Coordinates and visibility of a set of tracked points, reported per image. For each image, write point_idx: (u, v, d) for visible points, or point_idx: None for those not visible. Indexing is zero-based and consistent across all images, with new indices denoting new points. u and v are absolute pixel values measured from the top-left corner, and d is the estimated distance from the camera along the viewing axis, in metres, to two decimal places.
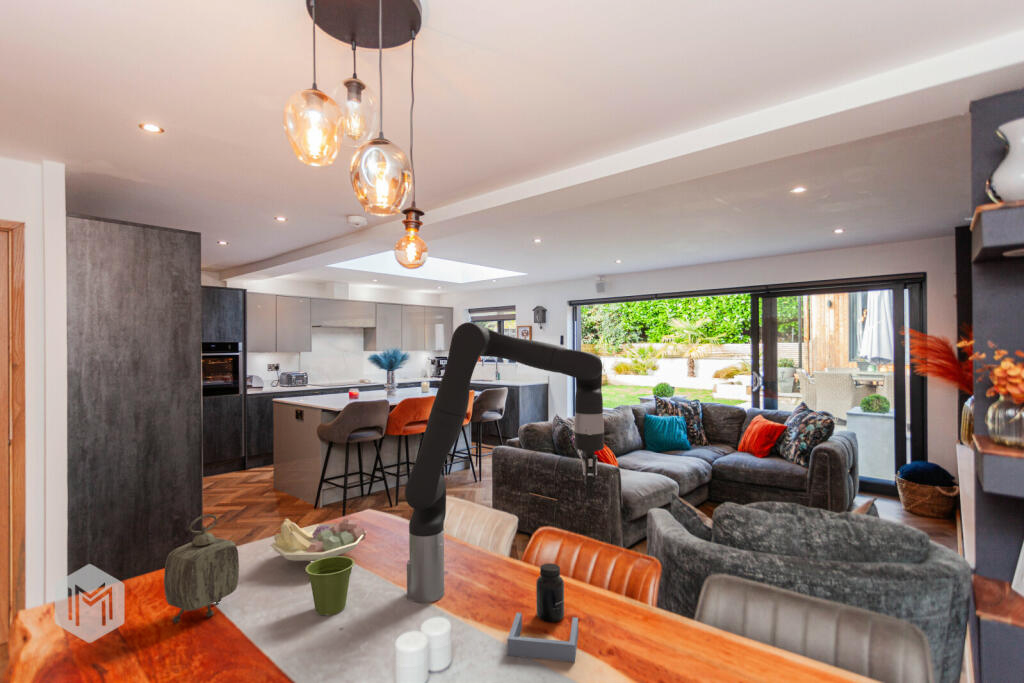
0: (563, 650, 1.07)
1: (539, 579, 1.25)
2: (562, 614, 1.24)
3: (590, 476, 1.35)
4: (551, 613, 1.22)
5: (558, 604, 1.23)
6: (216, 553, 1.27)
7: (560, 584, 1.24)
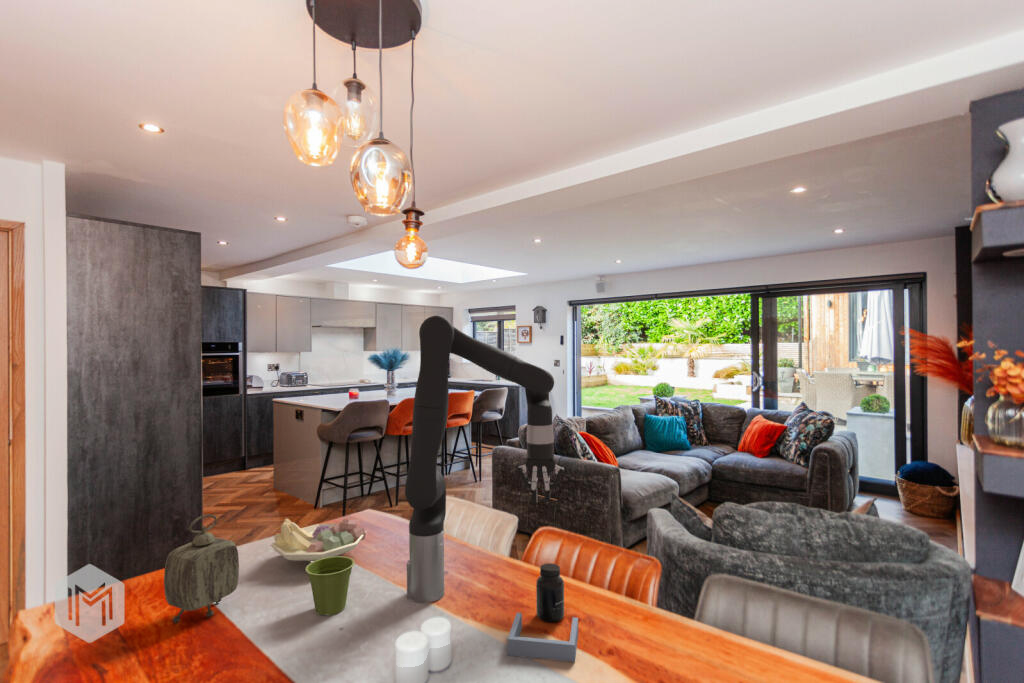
0: (563, 650, 1.07)
1: (539, 579, 1.25)
2: (562, 614, 1.24)
3: None
4: (551, 613, 1.22)
5: (558, 604, 1.23)
6: (216, 553, 1.27)
7: (560, 584, 1.24)
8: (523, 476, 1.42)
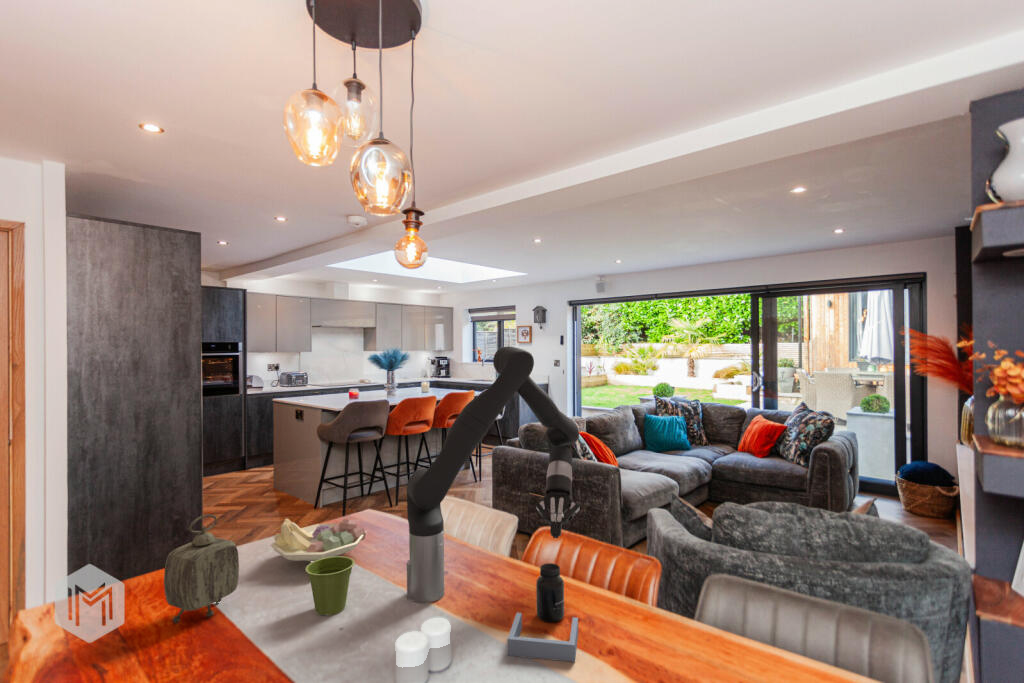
0: (563, 650, 1.07)
1: (539, 579, 1.25)
2: (562, 614, 1.24)
3: None
4: (551, 613, 1.22)
5: (558, 604, 1.23)
6: (216, 553, 1.27)
7: (560, 584, 1.24)
8: (542, 509, 1.44)
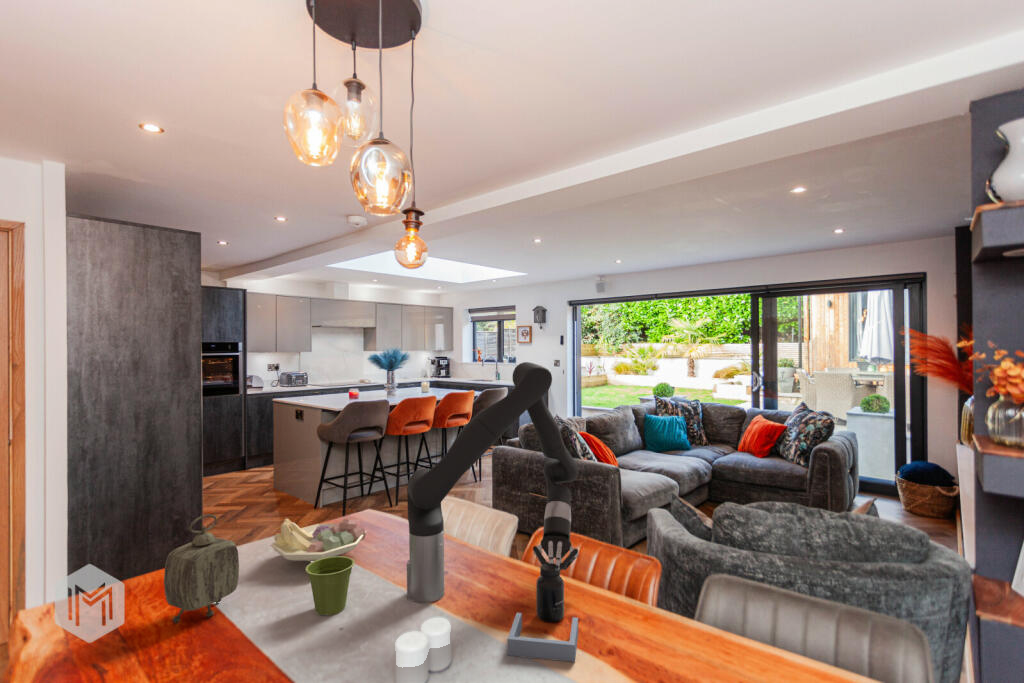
0: (563, 650, 1.07)
1: (539, 579, 1.25)
2: (562, 614, 1.24)
3: None
4: (551, 613, 1.22)
5: (558, 604, 1.23)
6: (216, 553, 1.27)
7: (560, 584, 1.24)
8: (540, 554, 1.38)
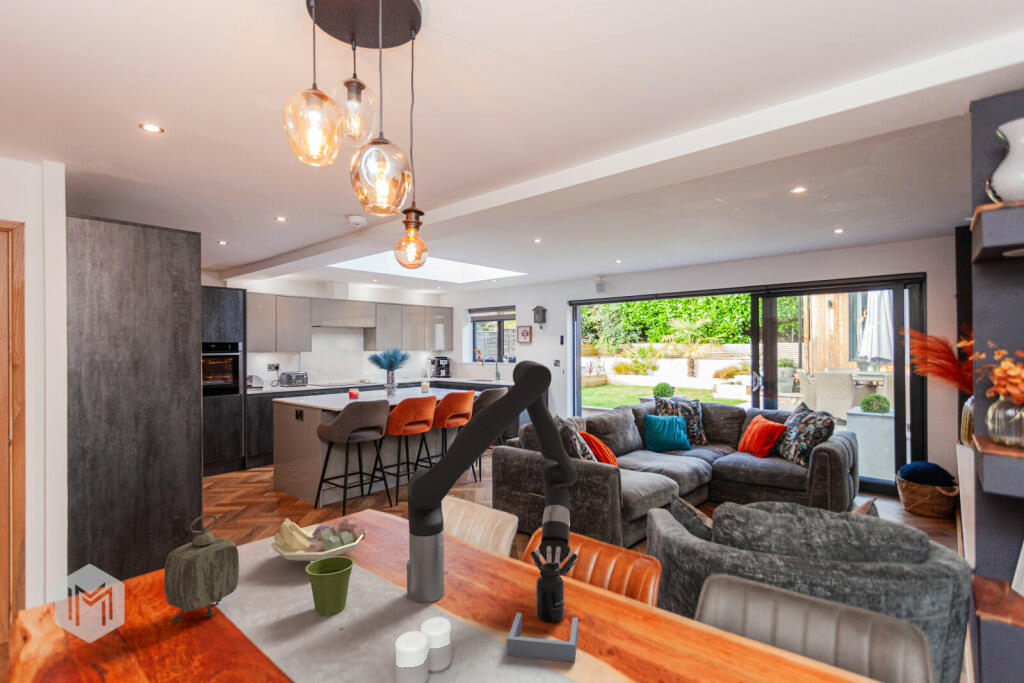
0: (563, 650, 1.07)
1: (539, 579, 1.25)
2: (562, 614, 1.24)
3: None
4: (551, 613, 1.22)
5: (558, 604, 1.23)
6: (216, 553, 1.27)
7: (560, 584, 1.24)
8: (538, 559, 1.35)
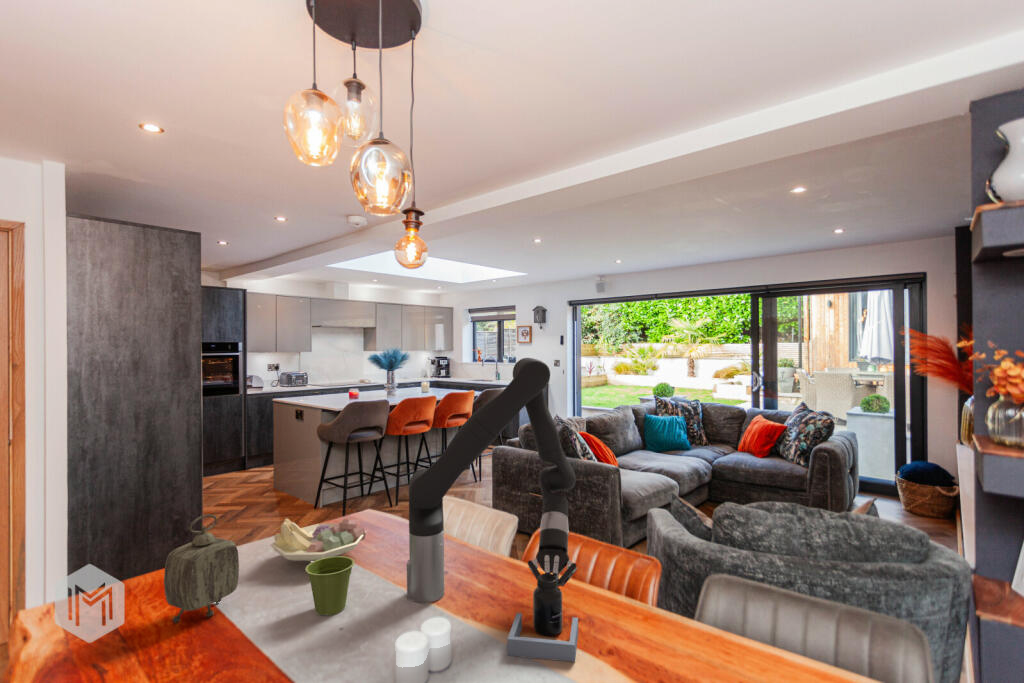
0: (563, 650, 1.07)
1: (536, 590, 1.19)
2: (560, 628, 1.18)
3: None
4: (548, 626, 1.16)
5: (555, 617, 1.17)
6: (216, 553, 1.27)
7: (557, 596, 1.18)
8: (535, 569, 1.29)
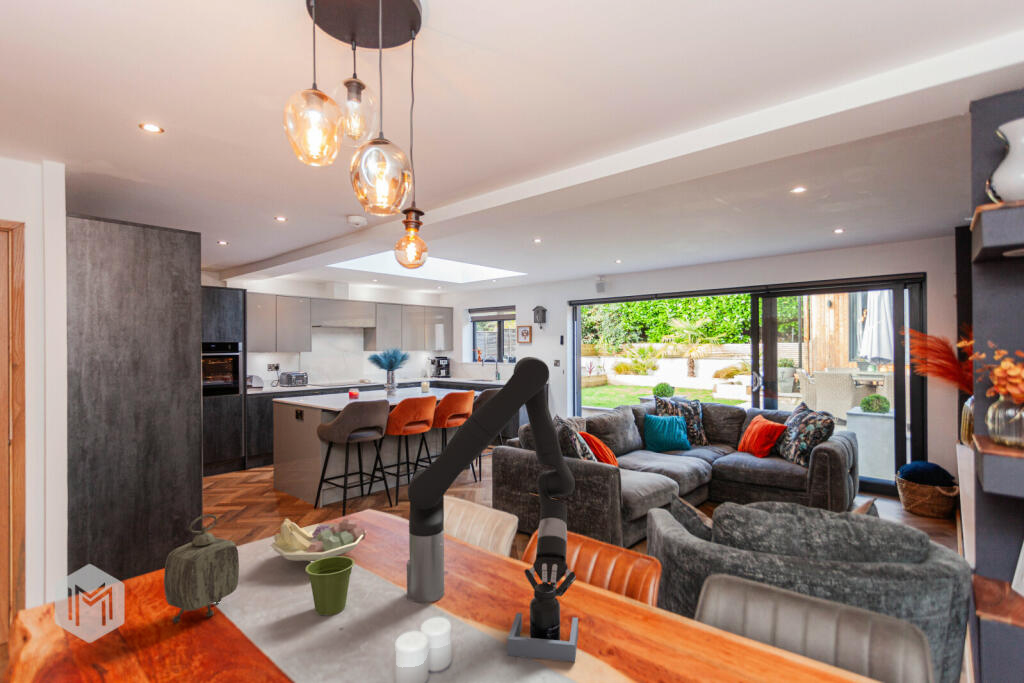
0: (563, 650, 1.07)
1: (533, 601, 1.14)
2: None
3: None
4: None
5: (553, 630, 1.12)
6: (216, 553, 1.27)
7: (555, 607, 1.12)
8: (532, 578, 1.24)
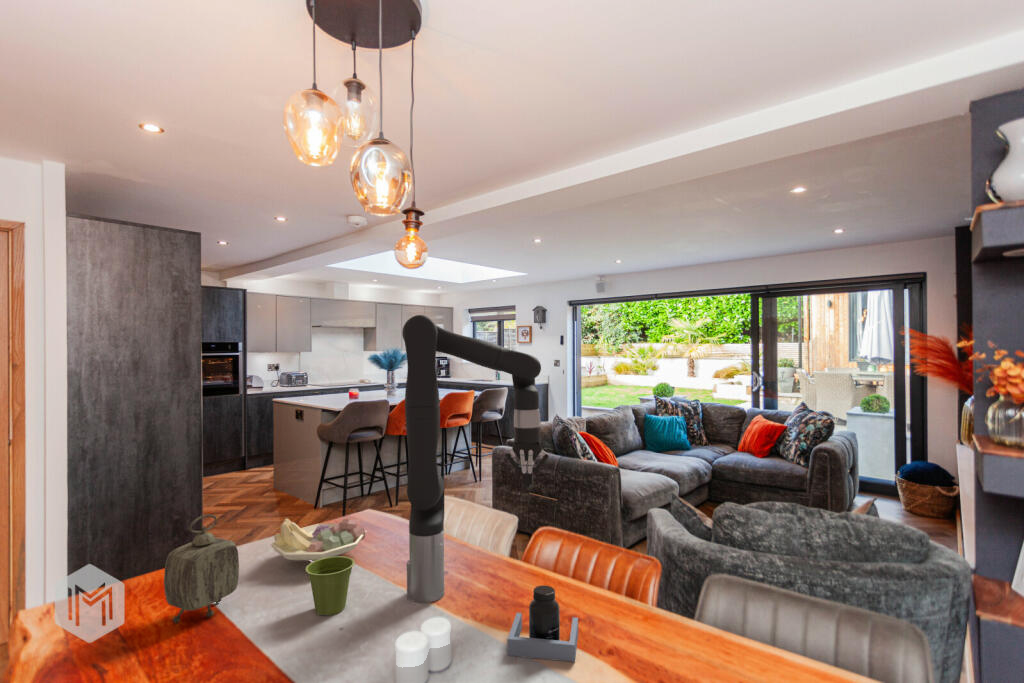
0: (563, 650, 1.07)
1: (532, 603, 1.14)
2: None
3: None
4: None
5: (552, 632, 1.11)
6: (216, 553, 1.27)
7: (554, 610, 1.11)
8: (512, 461, 1.45)
